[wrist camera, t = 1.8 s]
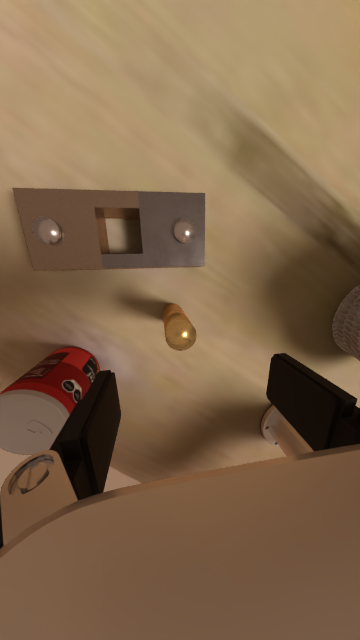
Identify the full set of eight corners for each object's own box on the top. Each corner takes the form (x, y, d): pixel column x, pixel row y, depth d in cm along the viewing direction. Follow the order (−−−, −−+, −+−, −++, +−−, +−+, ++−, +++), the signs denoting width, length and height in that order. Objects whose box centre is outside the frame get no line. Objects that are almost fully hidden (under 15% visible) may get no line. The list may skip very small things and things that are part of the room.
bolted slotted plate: (197, 206, 23) (206, 190, 19) (197, 266, 26) (205, 265, 21) (38, 203, 21) (7, 184, 17) (53, 270, 23) (29, 270, 19)
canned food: (93, 393, 29) (57, 462, 19) (42, 379, 27) (-30, 447, 17) (108, 355, 28) (78, 406, 17) (55, 338, 26) (-15, 384, 15)
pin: (182, 303, 27) (196, 320, 17) (182, 322, 28) (196, 349, 18) (161, 304, 26) (164, 322, 17) (163, 323, 27) (166, 351, 18)
